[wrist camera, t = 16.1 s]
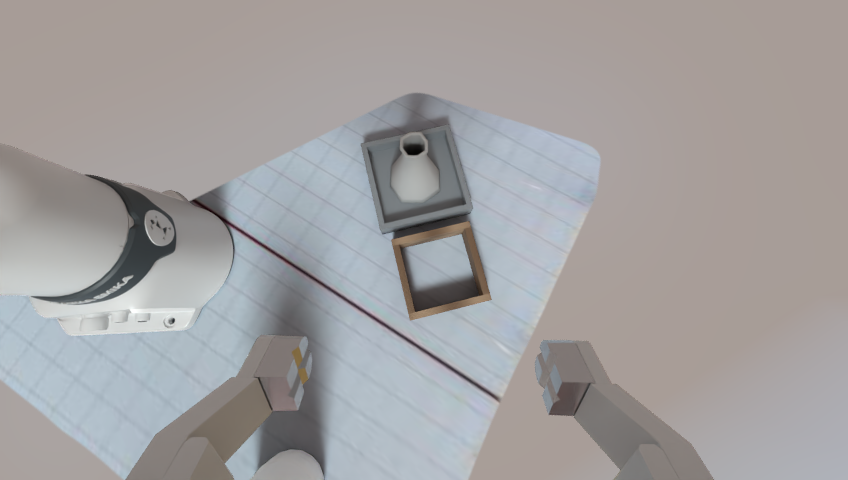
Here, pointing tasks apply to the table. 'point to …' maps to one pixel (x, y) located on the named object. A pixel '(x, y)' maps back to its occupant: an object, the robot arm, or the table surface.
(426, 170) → the flask
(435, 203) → the tray
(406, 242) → the shaker holder
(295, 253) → the table surface
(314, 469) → the bottle
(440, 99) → the table surface
